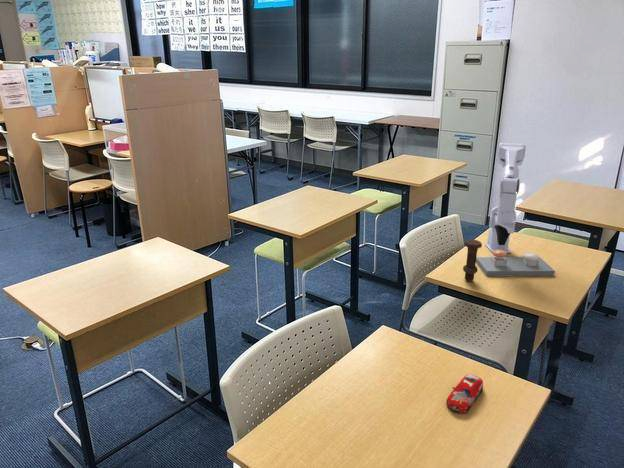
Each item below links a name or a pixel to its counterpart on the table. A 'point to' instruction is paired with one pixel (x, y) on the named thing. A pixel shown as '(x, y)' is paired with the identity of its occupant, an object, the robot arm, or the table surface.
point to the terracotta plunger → (499, 254)
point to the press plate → (514, 266)
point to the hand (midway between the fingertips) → (501, 244)
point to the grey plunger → (531, 256)
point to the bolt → (471, 259)
